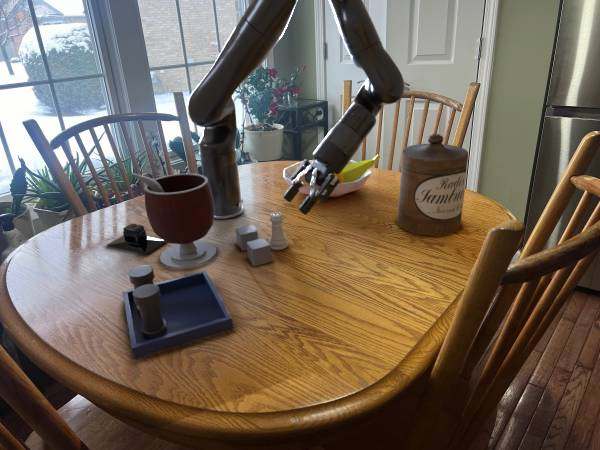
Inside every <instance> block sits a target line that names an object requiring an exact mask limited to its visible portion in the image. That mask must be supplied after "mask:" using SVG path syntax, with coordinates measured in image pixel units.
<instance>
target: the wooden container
mask: <svg viewBox="0 0 600 450" xmlns="http://www.w3.org/2000/svg"><path fill="white" fill-rule="evenodd" d="M427 142H428V143H419V144H418V143H417V144H412V145H408V146H406V147H404V148H403V150H401V151H402V152H401V166H400V167H401V169H400V179H399V180H400V181H399V189H398V190H399V191H398V204H397V205H398V206H397V207H398V209H397V224H398V226H399V227H400V228H402V229H403V230H405V231H407V232H409V233H412V234H416V235H421V236H428V237H434V236H435V237H438V236H446V235H447V236H448V235H450V234H453V233H455V232H457V231H458V230H459V229H460V228H461V223H462V215H463V208H464V207H463V206H464V200H465V191H466V190H465V189H466V181H467V180H466V178H467V169H468V161H469V160H468V159H469V151H468V150H467V149H465V148H463V147H460V146H458V145H453V144H445V143H443V142H444V136H443V135H441V134H440V133H432V134H431V135H429V136H428V137H427Z"/></svg>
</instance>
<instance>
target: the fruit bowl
mask: <svg viewBox="0 0 600 450" xmlns="http://www.w3.org/2000/svg"><path fill="white" fill-rule="evenodd" d="M380 158H381V156H380V155H379V154H377V155H376V156H375V157H373V158H369V159H365V160H361V161H355V160H352V159H351V160H350V161H349V162H348V164H347V165H346V166H345V167H344V169H343V170H342V171H341V173H340V174H335V173H334V175H335V176H336V177H337V178H338V179H339V180H340V182H339V183H338V185H337V186H336V188H335V189H334V190H333V192H332V193H331V195H330V196H329V197H330V198H331V197H332V198H337V197H341V196H344V195H347V194H349V193H352V192H354V191H358V190H361V189H362V188H363V186H364V185H365V183H366V182H367V181H368V179H369V178H370V177H371V175H372V173H373V171H371V169H372V168H373V166H375V165H376V162H377V161H378V160H379V159H380ZM314 160H315V158H314V159H312V160H308V161H309V162H310V163H312V162H313V161H314ZM302 162H303V161H299V162H296V163H294V164H292V165H290V166H287V167H285V168H283V172H282V173H283V174H282V176H283V177H282V178H283V179H284V180H285V182H286V183H287V184H288V185H289V187H290V186H291V185H292V180H291V179H290V177H291V176H292V175H293V173H294V172H295V171H296V170H297V168H298V167H299V166H300V165H301V164H302ZM299 174H300V173H299ZM299 174H298V175H299ZM298 175H297V176H296V178H297V177H298ZM301 183H302V182H301ZM320 187H321V186H320ZM299 190H300V191H299V192H298V193H300V194H304V195H307V196H310V191H311V187H310V185H309V186H304V187H303V188H301V189H299ZM325 193H326V190H325V192H324V193H322V195H324V194H325Z"/></svg>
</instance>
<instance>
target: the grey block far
mask: <svg viewBox="0 0 600 450" xmlns="http://www.w3.org/2000/svg"><path fill="white" fill-rule="evenodd" d="M234 231H235V238H236V245H237V246H238V247H239V249H240V250H241V251H242V252H243V251H247V243H246V242H250V241H254V240H258V239H259V233H258V230H257V229H256V228H255V226H254V225H252V224H250V225H245V226H240V227H236V228H235V230H234Z"/></svg>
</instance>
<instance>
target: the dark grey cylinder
mask: <svg viewBox="0 0 600 450" xmlns="http://www.w3.org/2000/svg"><path fill="white" fill-rule="evenodd" d="M134 289H135V288H134ZM133 298H134V302H135V304H136V305H138V307H139V311H140V315H141V319H142V324H143V325H142V327H141V331H142V335H143V337H144V338H145V339H150V340H152V339H155V338H158V337H162V336H163V335H165V334H166V332H167V330H168V328H167V323H166V321H165V320H163V317H162V312H161V307H160V303H159V300H160V298H161V295H160V290H159V287H158V286H157V285H155V283H154V284H146V285H142V286H140V287H138V288H136V289H135V290H134V291H133Z"/></svg>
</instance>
